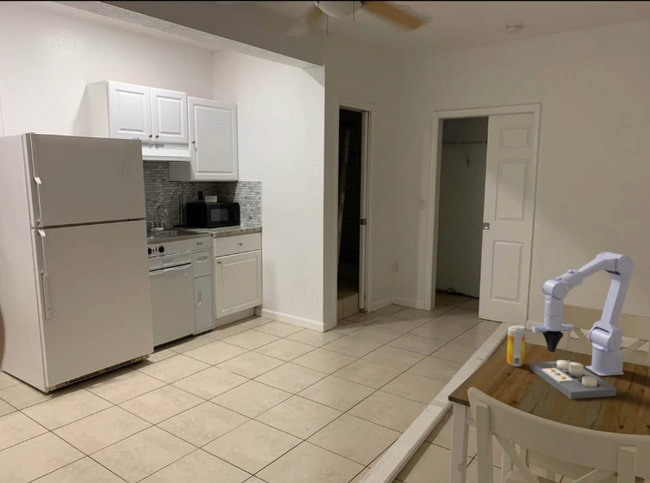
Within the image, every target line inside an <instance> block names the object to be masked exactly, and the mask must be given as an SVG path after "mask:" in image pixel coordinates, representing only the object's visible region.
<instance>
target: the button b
mask: <svg viewBox="0 0 650 483" xmlns="http://www.w3.org/2000/svg"><path fill="white" fill-rule="evenodd" d="M584 367H585V366H584V364H582V363H580V362H575V361H574V362H573V361H572V362H571V363H569V375H570V376H572V377H576V378H581V377H583V369H584Z"/></svg>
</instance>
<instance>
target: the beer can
mask: <svg viewBox="0 0 650 483" xmlns="http://www.w3.org/2000/svg"><path fill="white" fill-rule="evenodd" d="M525 345H526V328H525V326H524V325H521V324H510V325H509V326H508V329H507V346H506V347H507V349H506V350H507V351H506V362H507V363H508V365H509V366H511V367H515V368H519V367H522V366H523V365H524V364H525V348H526V346H525Z"/></svg>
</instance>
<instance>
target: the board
mask: <svg viewBox="0 0 650 483" xmlns="http://www.w3.org/2000/svg"><path fill="white" fill-rule="evenodd" d="M557 361H558V360H555V361H539V362H538V361H537V362H529V370H530V369H531V371H532V372H533V373H534V374H536V375H537V376H539V377H540V378H541V379H543V380H544V381H546V382H547V383H548V384H550V385H551V386H552V387H554V388H555V389H557V390H558V391H559V392H561V393H562V394H563V395H565V396H566V397H567V398H569V399H570V400H576V399H577V400H579V399H589V398H600V397H601V398H603V397H615V396H617V390H618V389H617V387H615V386H613V385H611V384H610V383H608V382H606V381H605V380H603V379H601V378H600V377H598V376H597V375H595V374H593V373H591V372H590V371H588V370H586V369H585V368H583V376H591V377H594V378H596V379H597V387H586V386H585V385H583V384H582V377H581V378H576V377H572V376H570V375H569V369H567V370H560V369H559V368H557ZM565 361H568V362H570V363H571V362H573V361H571V360H569V359H568V360H565ZM547 368H556V369H558V370H559V371H561V372H562V373H564V374H565V375H567V376H568V377H570V378H571V379H573V382H560V383H559V382H558V381H556V380H555V379H554V378H552V377H551V376H549V375H548V374H546V373H545V372H544V371H542V369H547Z"/></svg>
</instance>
